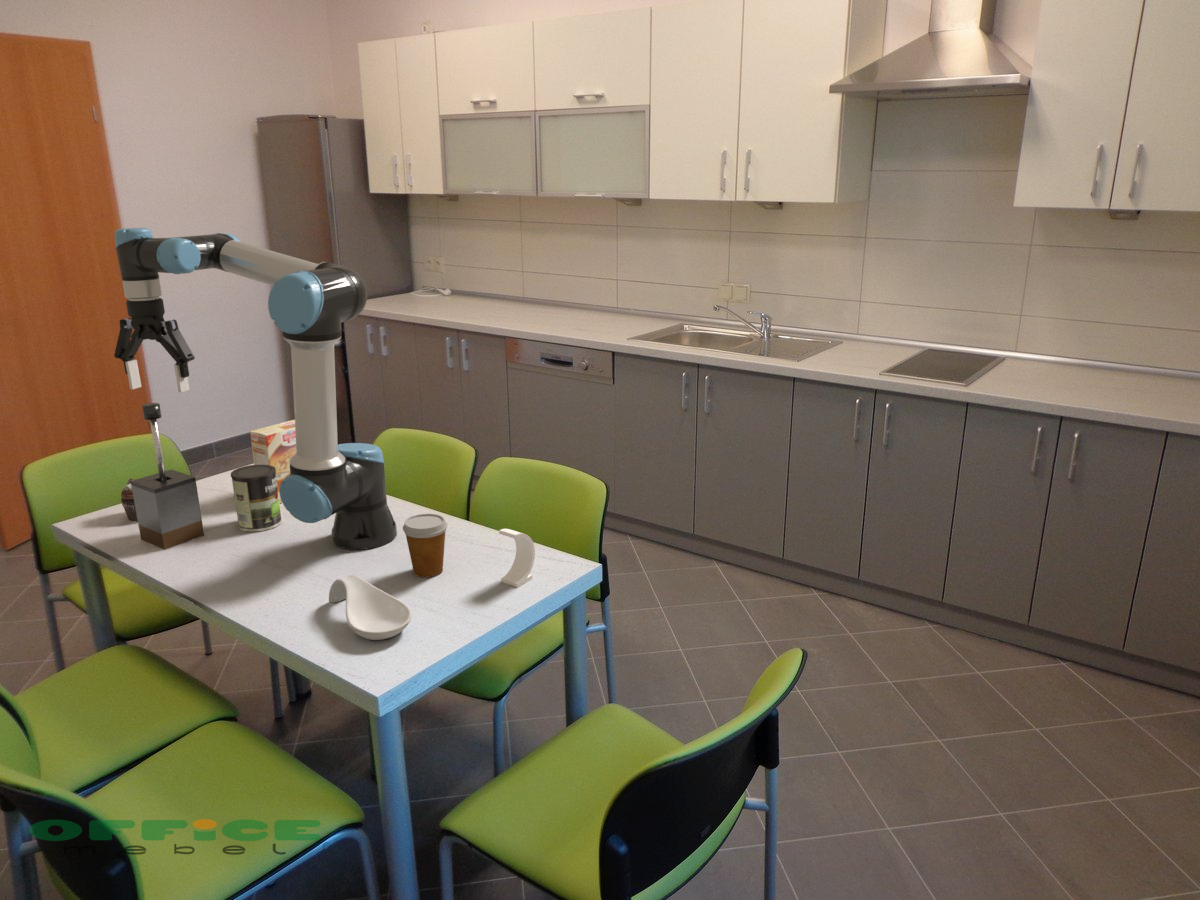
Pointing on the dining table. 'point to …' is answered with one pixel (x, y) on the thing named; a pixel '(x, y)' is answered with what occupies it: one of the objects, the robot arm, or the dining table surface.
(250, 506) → the coffee can
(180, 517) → the grey brown upright block
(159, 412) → the plunger
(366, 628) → the spoon rest
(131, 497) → the cupcake
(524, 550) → the headphone stand
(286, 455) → the coffeecake box
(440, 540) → the disposable coffee cup
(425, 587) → the dining table surface
